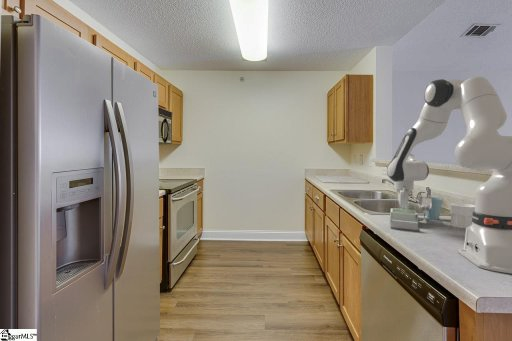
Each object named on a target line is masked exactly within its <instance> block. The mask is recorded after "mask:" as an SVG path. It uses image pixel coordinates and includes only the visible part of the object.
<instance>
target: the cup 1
mask: <svg viewBox="0 0 512 341" xmlns="http://www.w3.org/2000/svg"><path fill="white" fill-rule="evenodd" d="M428 197H429V198H431V200H432V208H431V209H430V210H428V211H425V212H426V214H425V218H426V219H427V220H428V219H429V220H436V221H437V220H439V219H440V215H441V209H442V204H443V198H441V197H433V196H432V197H431V196H428Z"/></svg>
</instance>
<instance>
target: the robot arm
mask: <svg viewBox="0 0 512 341" xmlns="http://www.w3.org/2000/svg"><path fill="white" fill-rule="evenodd" d="M423 97H424V98H423V99H424V101H425V102H424V105H423V107H422V109H421V111H420V113H419V114H420V115H419V117H418V119H417V121H416V123H415V124H414V125H413V126H412V127H411V128H410V129H408V130H407V131H406V133H405V134H404V136H403V137H402V140H401V141H400V143H399V145H398V148H397V150H396V152H395V154H394V155H393V158H392V160H391V161H390V162H389V164H388V165H387V167H386V174H387V177H388V178H389V179H390V180H391V181H393V184H394V186H393V189H395V190H396V193H397V200H398V203H399V207H400V209H406V208H407V207H409V194H411V191H414V185H415V184H414V183H415V182H417V181H418V182H420V181H421V182H422V181H425V180H426V179H427V178H428V176H429V174H430V168H429V166H428V164H427V163H426V161H424V160H423V161H422V160H420V159H418V158H416V157H415V155H414V154H413V153H411V152H412V150H413V149H414V148H416V146H418V145H419V144H422V143H424V142H426V141H429V140H433V139H436V138H439V137H440V136H441V135H442V134H443V132H444V131H445V129H446V127H447V126H448V122H449V119H450V116H451V114H452V112H453V111H454V110H460V111H461V113H462V116H463V120H464V122H465V125H466V134H465V136H464V137H463V138H462V139H461V140H460V141H459V142H458V143H457V144H456V146H455V148H454V158H455V161H456V162H457V163H458V165H459V166H460V167H463V168H466V169H471V170H474V171H475V170H476V171H493V172H492V173H491V175H490V177H489V178H488V180H486V181H485V182H483V183H481V184H479V185H478V186H477V187H476V189H475V196H474V205H475V209H474V211H473V215H472V222H473V223H472V225H471V226H469V227H468V228H465V235H464V245H463V248H458V250H457V252H458V253H459V254H460V255H462V256H463V257H464V258H466V259H467V260H468V261H469V262H471V263H472V264H474V265H475V266H476V267H478V268H481V269H485V270H488V271H494V272H498V273H505V274H511V275H512V135H501V134H500V133H499V131H498V130H499V129H500V128H502V127H503V126H504V125H505V123H506V121H507V119H508V114H507V112H506V110H505V108H504V106H503V103H502V101H501V98H500V97H499V94H498V92H497V91H496V89H495V87H493V85H492V84H491V82H490V81H489V80H488V79H487V78H485V77H482V76H473V77H470V78H468V79H466V80H464V79H463V80H462V79H436V80H432V81H431V82H429V83H428V85H426V88H425V90H424V94H423Z"/></svg>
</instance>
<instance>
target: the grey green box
mask: <svg viewBox="0 0 512 341" xmlns="http://www.w3.org/2000/svg"><path fill="white" fill-rule="evenodd" d="M418 215H419V214H418V212H417V210H416V209H407V208H405V209H401V208H396V207H395V208H394V207H393V208H392V207H390V217H391V220H400V221H411V222H418Z"/></svg>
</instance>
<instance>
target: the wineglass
mask: <svg viewBox="0 0 512 341" xmlns="http://www.w3.org/2000/svg"><path fill="white" fill-rule="evenodd" d="M429 197H430V196H428V197H427V196H419V199H418V202H417V203H418V208H419V209H420V210H421V211H423V220H419V221H418V223H421V224H430V222H429V221H427V220H426V211H428V210H430V209H431V208H432V200H431V198H429Z"/></svg>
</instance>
